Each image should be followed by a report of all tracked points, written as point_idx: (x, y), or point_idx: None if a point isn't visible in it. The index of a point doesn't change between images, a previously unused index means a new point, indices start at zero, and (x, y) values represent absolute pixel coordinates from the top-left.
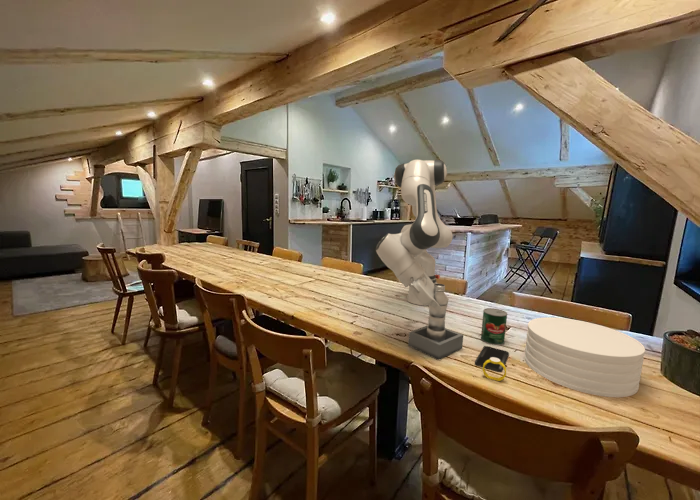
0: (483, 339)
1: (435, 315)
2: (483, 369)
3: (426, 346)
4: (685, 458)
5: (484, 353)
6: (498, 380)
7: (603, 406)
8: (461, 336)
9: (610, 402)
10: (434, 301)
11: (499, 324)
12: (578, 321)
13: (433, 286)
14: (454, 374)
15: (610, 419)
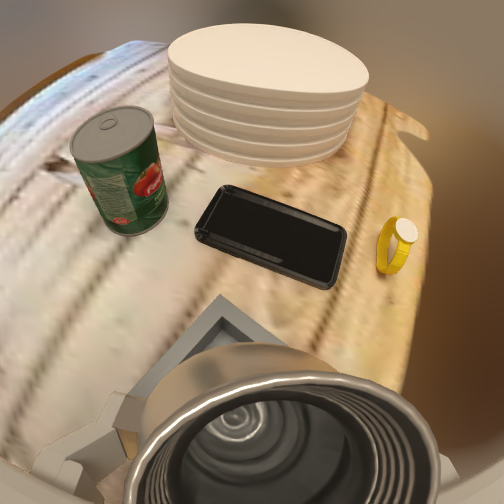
0: (142, 228)
1: (305, 442)
2: (396, 271)
3: None
4: (422, 126)
5: (252, 247)
6: (387, 248)
7: (373, 132)
8: (231, 304)
9: (356, 120)
10: (447, 460)
11: (157, 148)
12: (190, 35)
13: (10, 487)
14: (402, 350)
15: (400, 141)
